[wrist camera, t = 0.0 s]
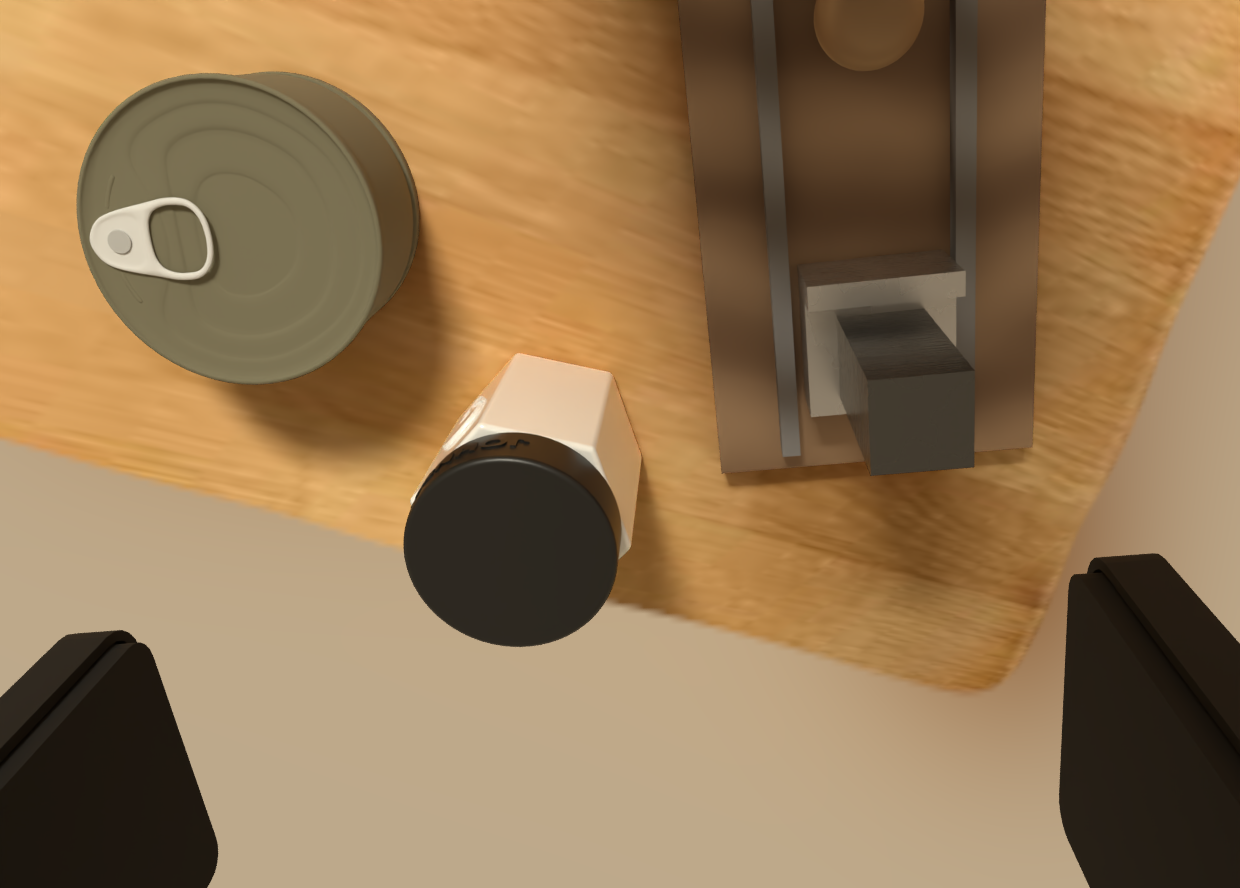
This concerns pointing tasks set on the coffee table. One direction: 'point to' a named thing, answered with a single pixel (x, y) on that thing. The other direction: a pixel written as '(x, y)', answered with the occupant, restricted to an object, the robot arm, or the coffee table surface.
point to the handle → (890, 358)
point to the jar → (527, 505)
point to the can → (246, 221)
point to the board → (862, 192)
